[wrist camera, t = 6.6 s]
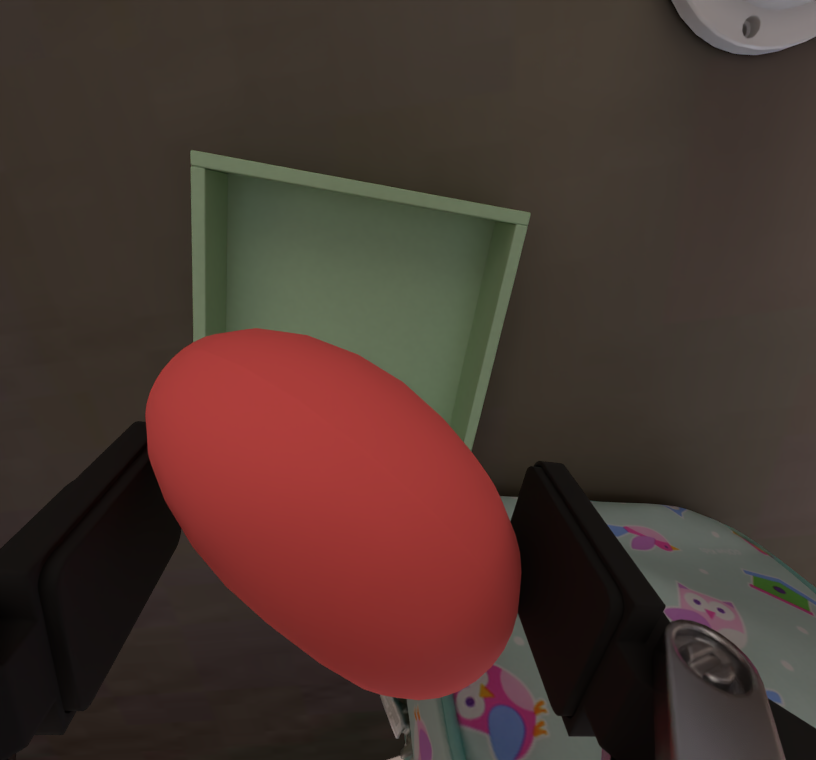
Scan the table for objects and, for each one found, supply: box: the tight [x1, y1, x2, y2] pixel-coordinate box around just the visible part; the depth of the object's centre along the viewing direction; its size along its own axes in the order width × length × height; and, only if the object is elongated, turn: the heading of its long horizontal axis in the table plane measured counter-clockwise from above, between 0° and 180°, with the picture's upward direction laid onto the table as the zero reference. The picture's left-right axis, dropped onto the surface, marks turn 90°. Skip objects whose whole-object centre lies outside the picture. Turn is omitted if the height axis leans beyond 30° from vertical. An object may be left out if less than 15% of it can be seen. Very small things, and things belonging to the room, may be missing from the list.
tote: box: [190, 150, 531, 451], centre depth 24 cm, size 15×15×4 cm
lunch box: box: [380, 496, 816, 760], centre depth 23 cm, size 27×10×21 cm, turn 82°
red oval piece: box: [145, 328, 522, 700], centre depth 9 cm, size 5×9×6 cm, turn 23°
